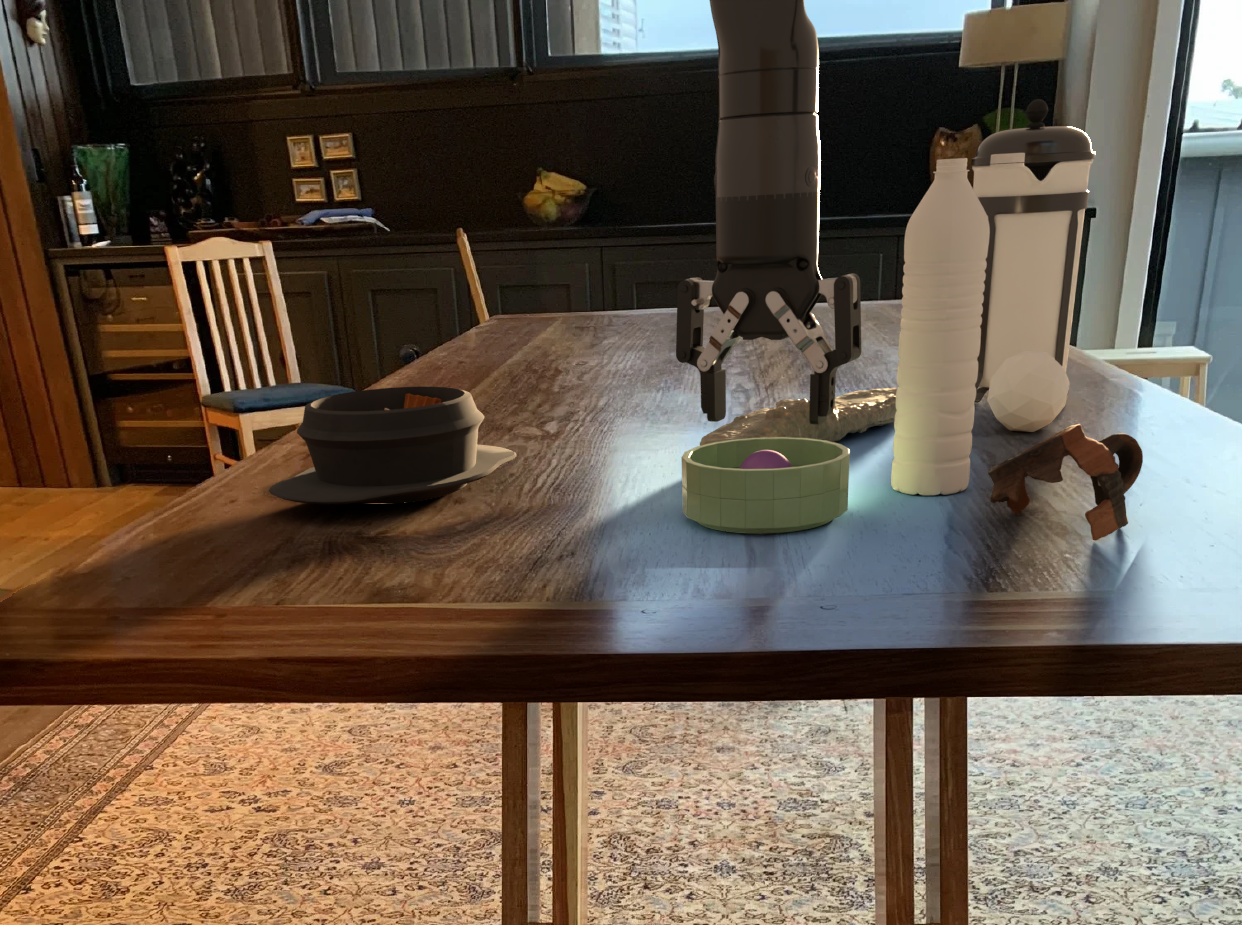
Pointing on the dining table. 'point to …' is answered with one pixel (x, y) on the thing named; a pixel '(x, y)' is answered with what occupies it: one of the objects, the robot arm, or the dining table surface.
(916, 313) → the water bottle
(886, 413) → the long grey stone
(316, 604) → the dining table surface
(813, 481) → the bowl
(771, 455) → the ball
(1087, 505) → the dining table surface
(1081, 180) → the coffee press
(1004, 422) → the geometric ball
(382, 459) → the grey pot on saucer
